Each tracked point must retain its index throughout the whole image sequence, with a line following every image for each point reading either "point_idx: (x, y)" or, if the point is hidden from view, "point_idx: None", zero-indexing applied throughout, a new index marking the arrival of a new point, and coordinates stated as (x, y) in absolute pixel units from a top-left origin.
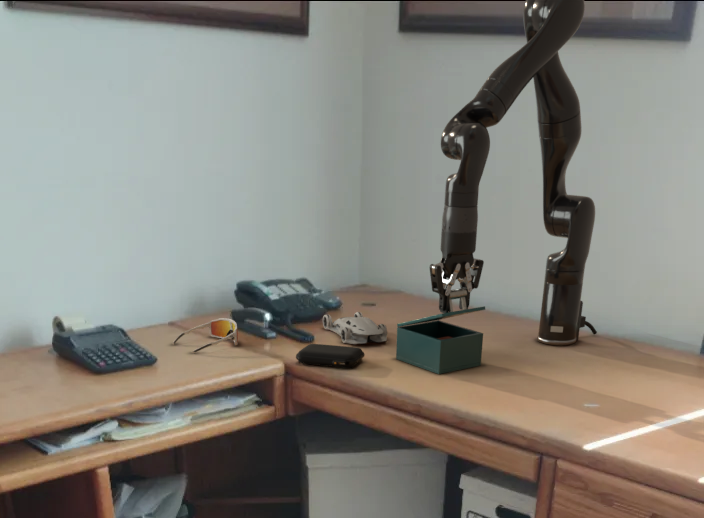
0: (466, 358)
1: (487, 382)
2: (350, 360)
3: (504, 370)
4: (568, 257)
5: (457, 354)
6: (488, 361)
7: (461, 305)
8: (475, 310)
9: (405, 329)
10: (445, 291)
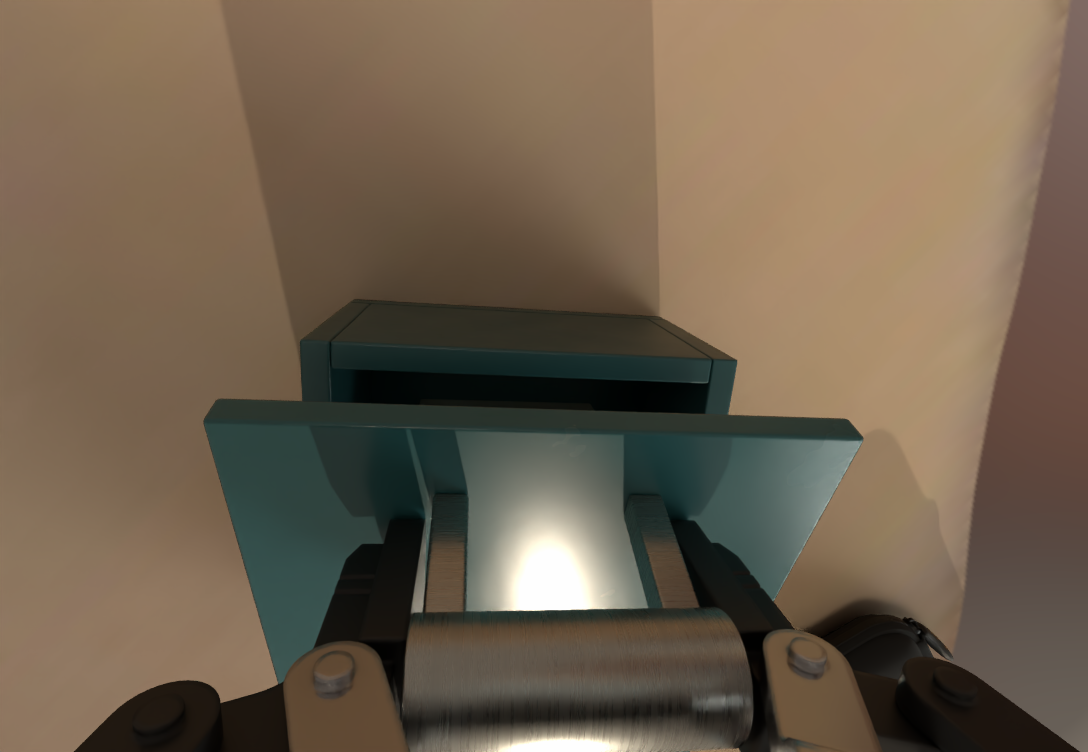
0: (472, 315)
1: (575, 14)
2: (905, 629)
3: (300, 131)
4: None
5: (553, 326)
6: (248, 338)
7: (422, 596)
8: (384, 406)
9: None
10: (855, 680)
